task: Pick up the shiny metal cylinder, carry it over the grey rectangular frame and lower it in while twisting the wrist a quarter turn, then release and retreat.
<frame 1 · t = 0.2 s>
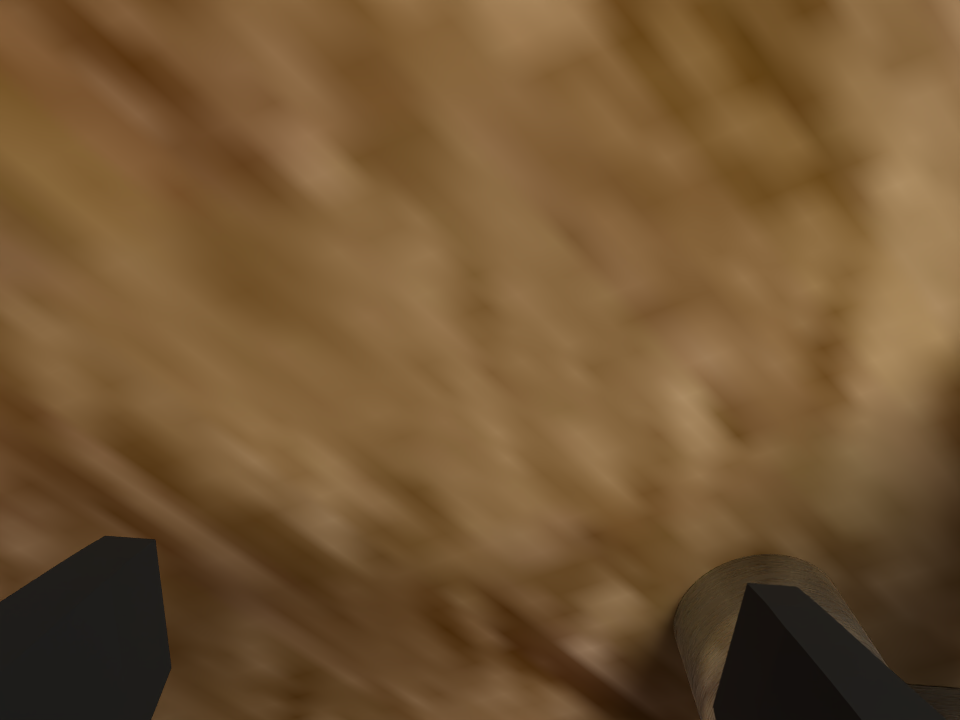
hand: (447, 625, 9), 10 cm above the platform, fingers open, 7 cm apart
shiny metal cylinder: (756, 621, 21), on the platform
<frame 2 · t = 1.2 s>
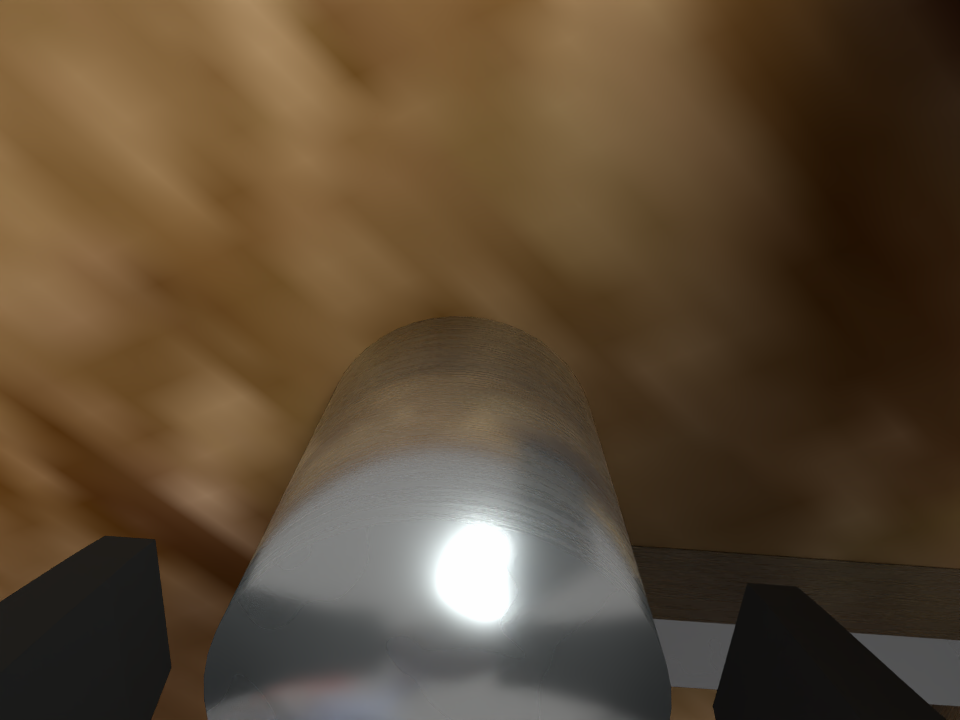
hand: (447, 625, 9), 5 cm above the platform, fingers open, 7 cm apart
shiny metal cylinder: (459, 442, 13), on the platform
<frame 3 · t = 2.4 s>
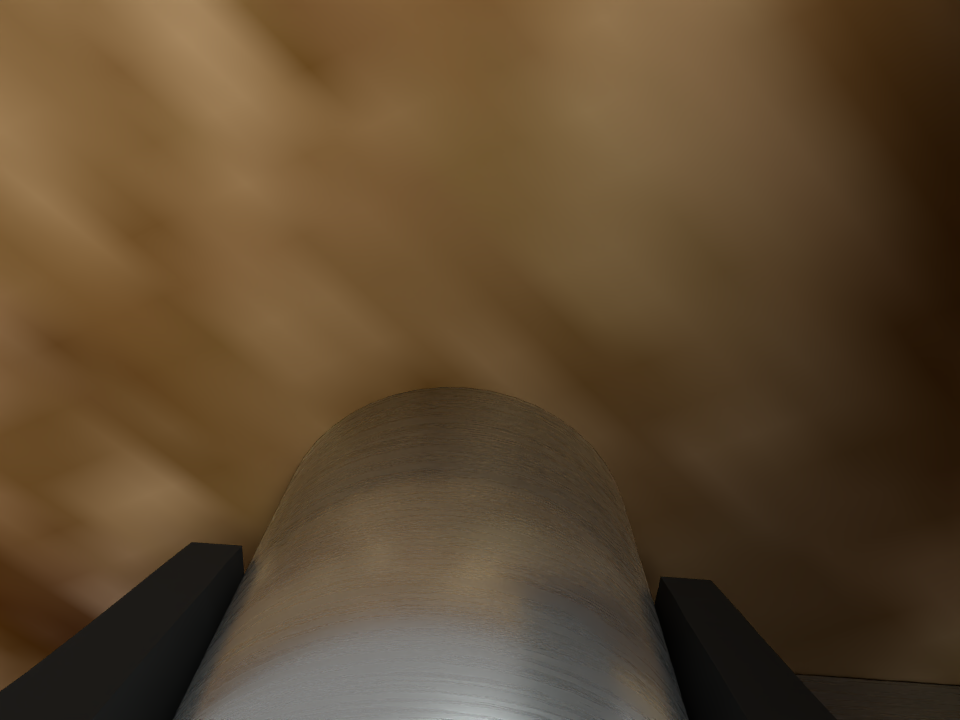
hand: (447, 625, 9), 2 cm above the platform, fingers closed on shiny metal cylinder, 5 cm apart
shiny metal cylinder: (454, 543, 10), on the platform, touching gripper
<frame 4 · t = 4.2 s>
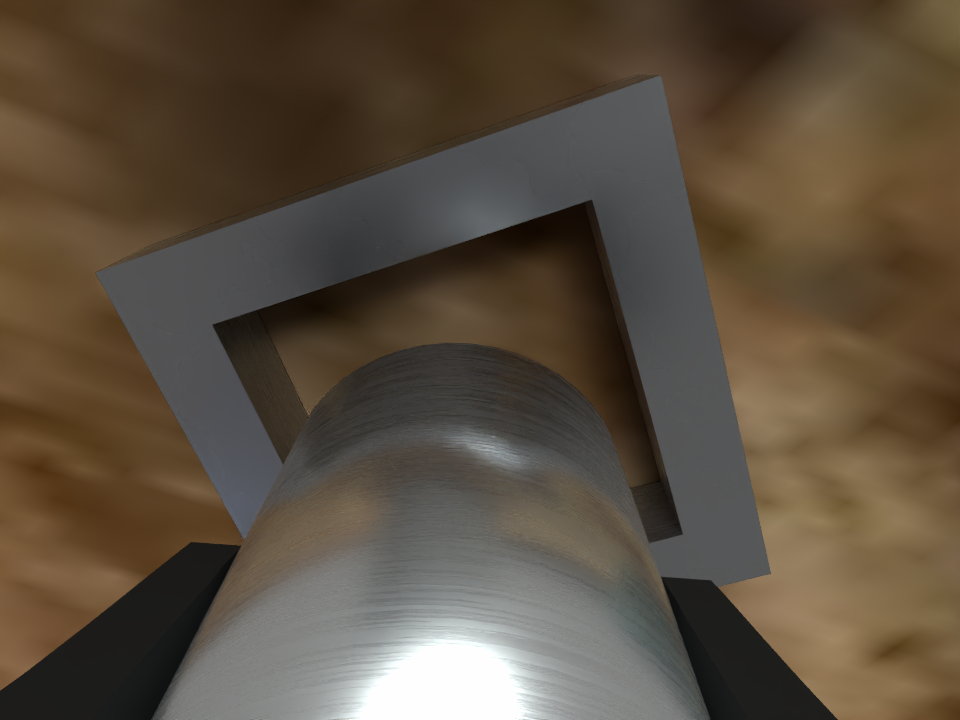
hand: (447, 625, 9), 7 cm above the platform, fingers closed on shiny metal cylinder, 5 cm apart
shiny metal cylinder: (456, 497, 10), point 5 cm above the platform, touching gripper
grey rectangular frame: (465, 391, 15), on the platform
when the fingers open (3 cm above the platform, at t = 5.8 s): shiny metal cylinder stays where it is, resting in grey rectangular frame.
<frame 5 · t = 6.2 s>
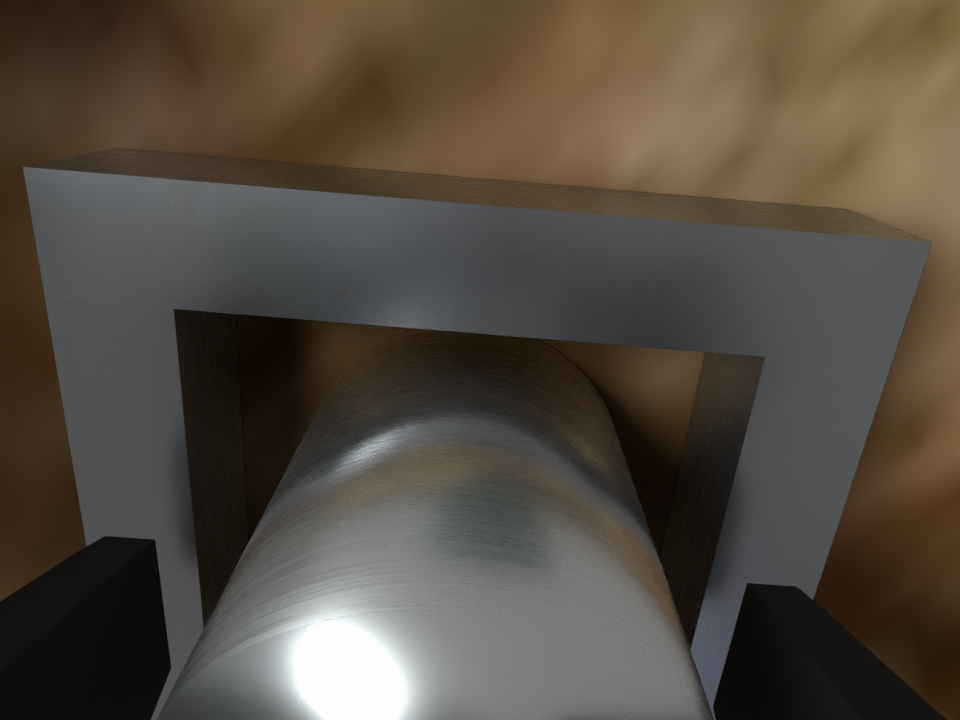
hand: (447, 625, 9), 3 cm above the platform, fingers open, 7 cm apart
shiny metal cylinder: (463, 467, 11), resting in grey rectangular frame
grey rectangular frame: (459, 490, 11), on the platform
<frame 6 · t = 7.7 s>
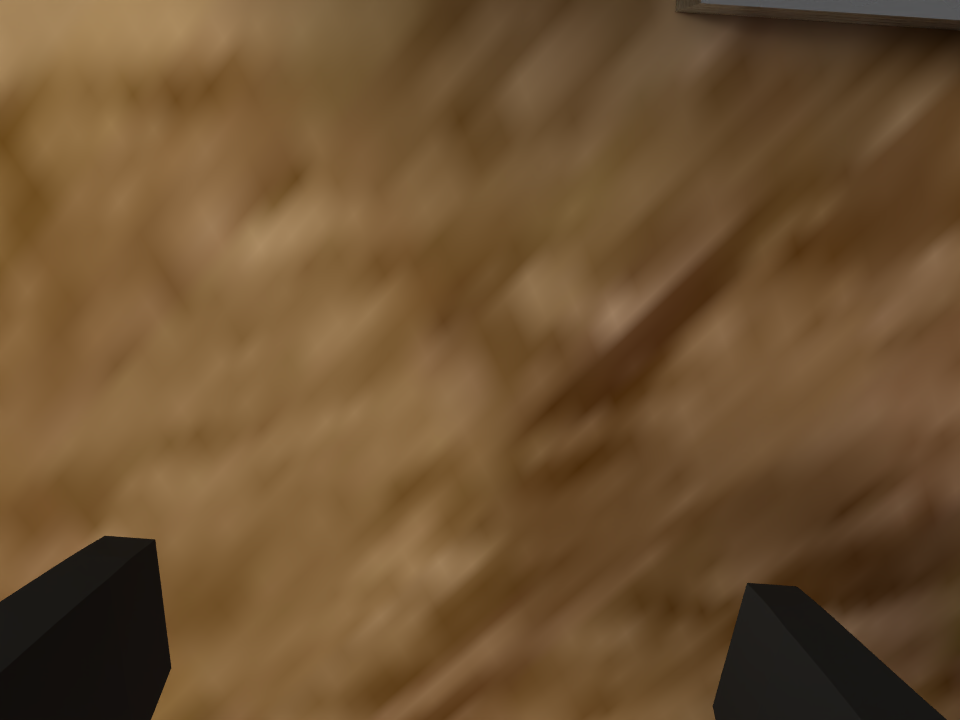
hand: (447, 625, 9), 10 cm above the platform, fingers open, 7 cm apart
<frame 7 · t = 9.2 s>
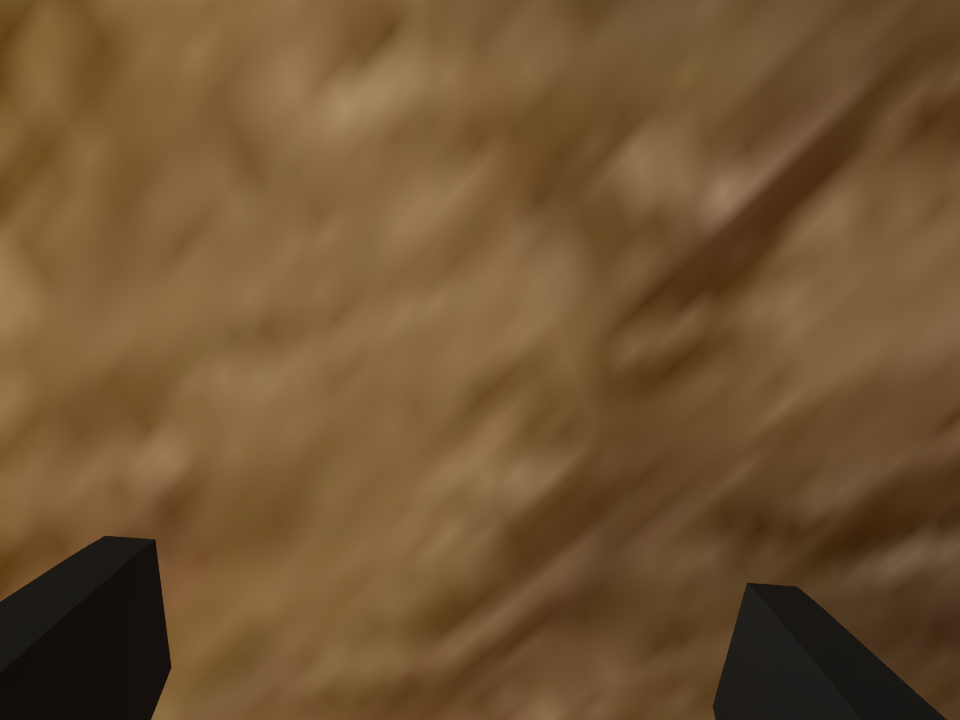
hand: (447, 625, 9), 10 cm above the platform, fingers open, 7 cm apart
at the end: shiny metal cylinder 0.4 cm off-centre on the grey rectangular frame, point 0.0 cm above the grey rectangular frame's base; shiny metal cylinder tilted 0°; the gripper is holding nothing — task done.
